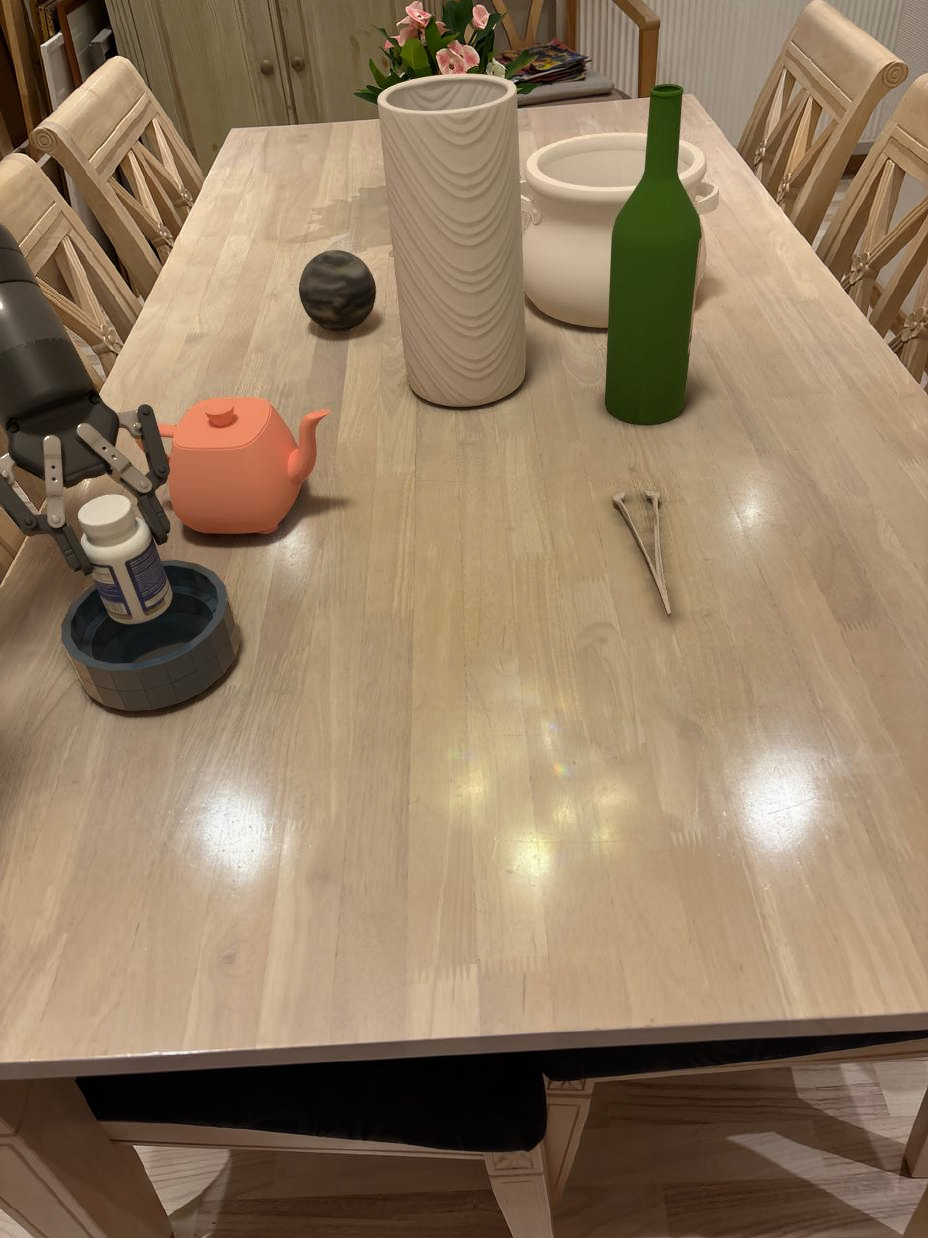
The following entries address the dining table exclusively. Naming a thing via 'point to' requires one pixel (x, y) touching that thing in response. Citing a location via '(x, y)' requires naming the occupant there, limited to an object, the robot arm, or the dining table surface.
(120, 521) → the pill bottle
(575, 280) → the pot
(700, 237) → the wine bottle
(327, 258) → the decorative stone
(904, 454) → the dining table surface
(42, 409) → the robot arm
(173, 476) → the teapot
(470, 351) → the vase
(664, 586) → the jawbone
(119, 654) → the bowl
